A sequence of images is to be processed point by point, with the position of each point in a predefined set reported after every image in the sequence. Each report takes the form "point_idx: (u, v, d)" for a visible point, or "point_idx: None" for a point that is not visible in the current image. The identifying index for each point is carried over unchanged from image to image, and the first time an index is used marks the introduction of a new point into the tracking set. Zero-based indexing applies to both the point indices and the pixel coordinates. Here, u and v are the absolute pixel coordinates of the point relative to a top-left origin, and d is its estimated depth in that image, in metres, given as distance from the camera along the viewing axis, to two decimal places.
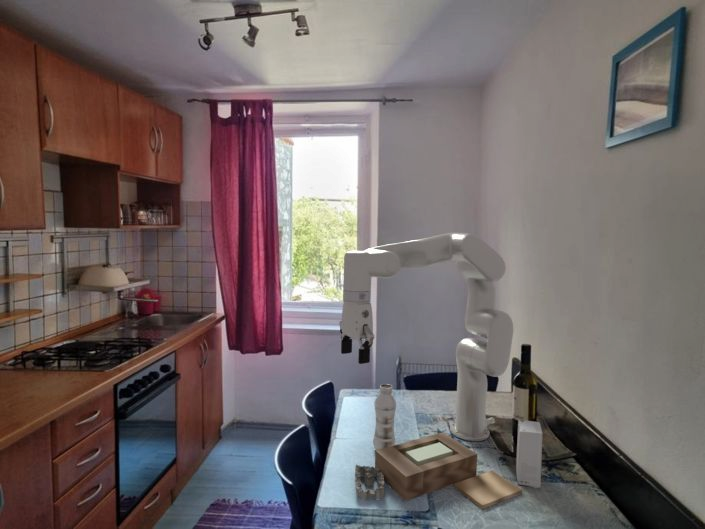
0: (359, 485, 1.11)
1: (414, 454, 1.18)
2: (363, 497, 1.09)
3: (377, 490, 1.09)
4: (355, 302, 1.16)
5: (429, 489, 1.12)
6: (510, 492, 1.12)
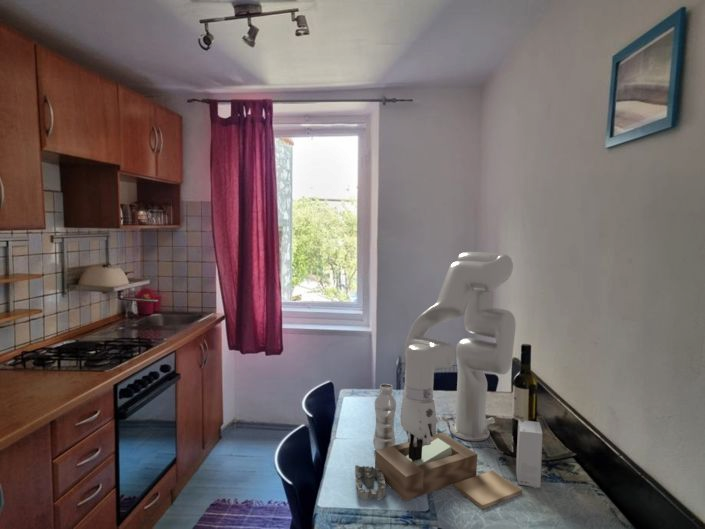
0: (360, 486, 1.11)
1: None
2: (365, 497, 1.09)
3: (379, 490, 1.09)
4: (419, 400, 1.13)
5: (429, 489, 1.12)
6: (510, 492, 1.12)
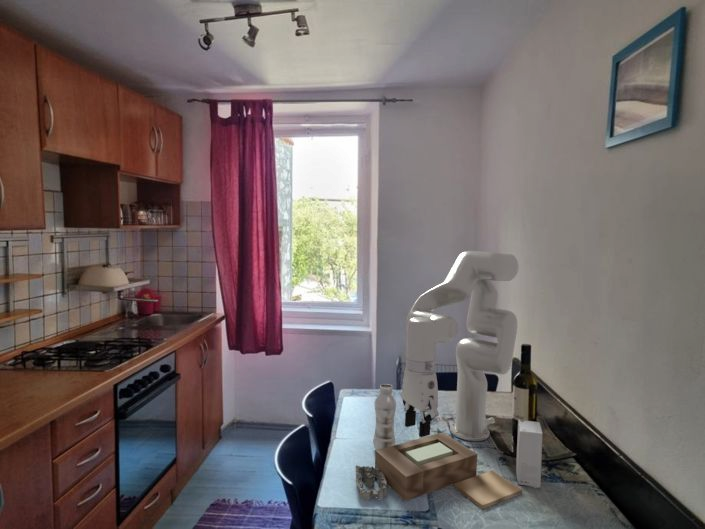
0: (361, 486, 1.11)
1: (414, 454, 1.18)
2: (366, 498, 1.08)
3: (380, 490, 1.09)
4: (420, 373, 1.12)
5: (429, 489, 1.12)
6: (510, 492, 1.12)
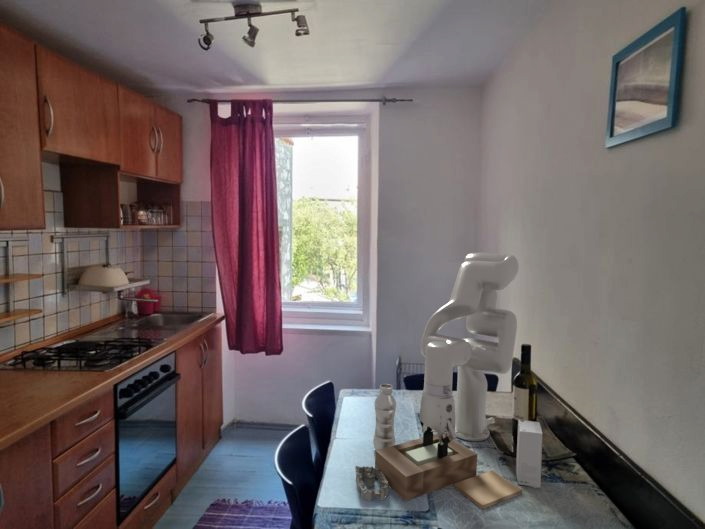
0: (363, 486, 1.11)
1: (414, 454, 1.18)
2: (368, 498, 1.08)
3: (382, 490, 1.09)
4: (439, 396, 1.16)
5: (429, 489, 1.12)
6: (510, 492, 1.12)
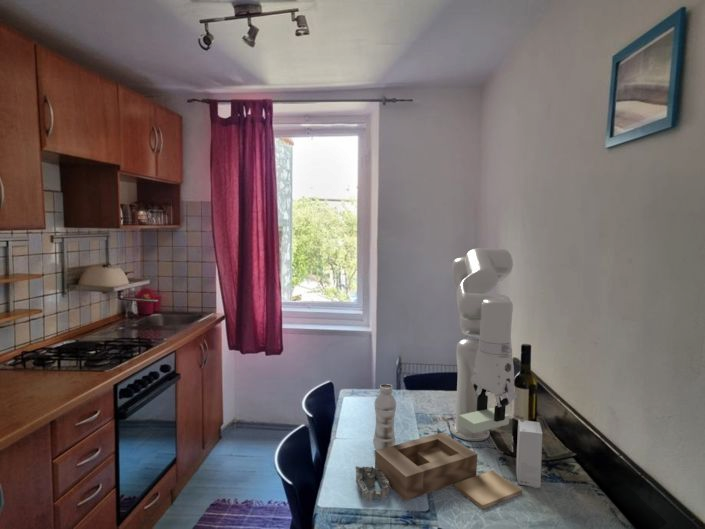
0: (364, 486, 1.10)
1: (469, 417, 1.11)
2: (369, 498, 1.08)
3: (383, 490, 1.09)
4: (497, 355, 1.09)
5: (429, 489, 1.12)
6: (510, 492, 1.12)
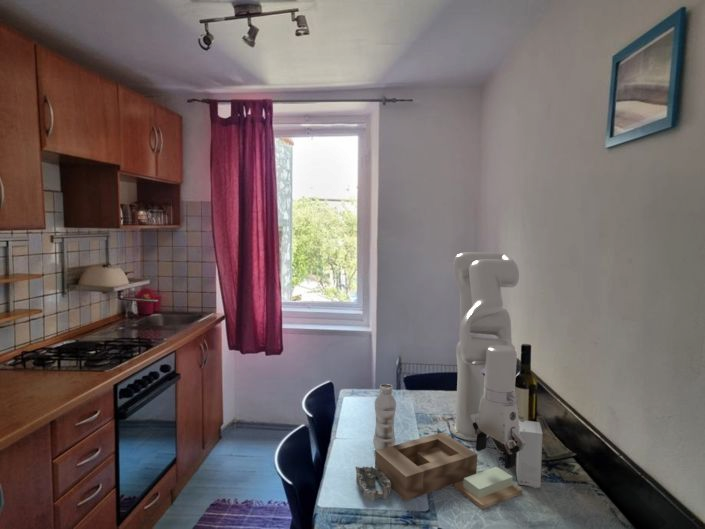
0: (365, 487, 1.10)
1: (473, 481, 1.12)
2: (371, 498, 1.08)
3: (385, 489, 1.09)
4: (502, 403, 1.09)
5: (429, 489, 1.12)
6: (510, 492, 1.12)
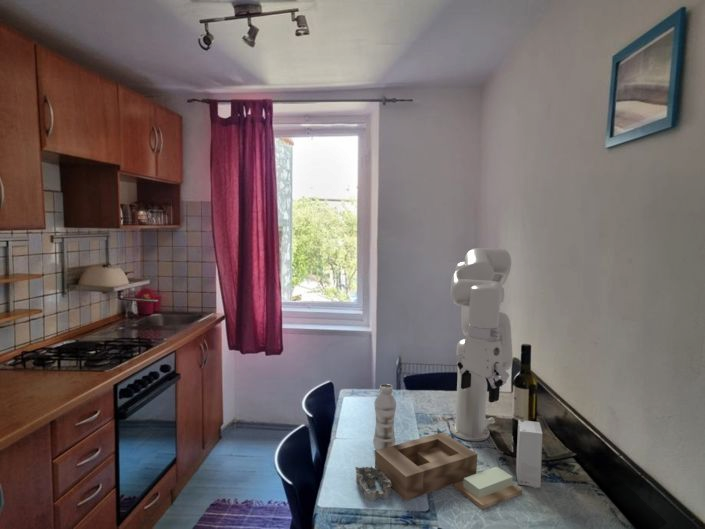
0: (366, 487, 1.10)
1: (473, 481, 1.12)
2: (372, 498, 1.08)
3: (385, 489, 1.09)
4: (486, 339, 1.12)
5: (429, 489, 1.12)
6: (510, 492, 1.12)
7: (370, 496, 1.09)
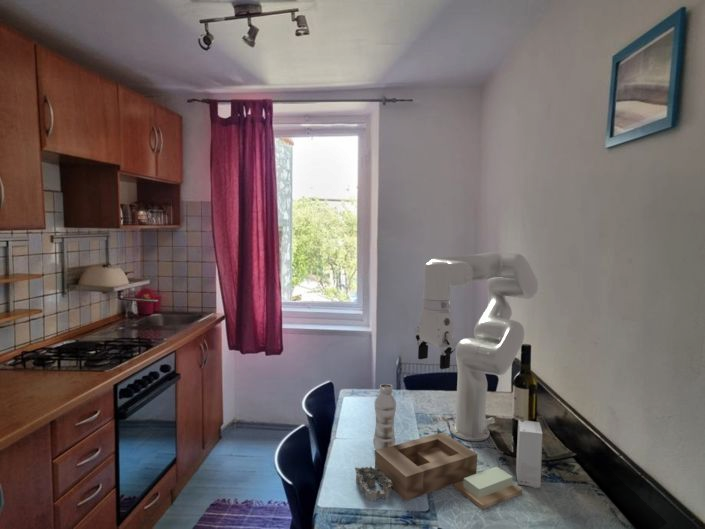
0: (367, 487, 1.10)
1: (473, 481, 1.12)
2: (373, 498, 1.08)
3: (386, 489, 1.09)
4: (437, 310, 1.22)
5: (429, 489, 1.12)
6: (510, 492, 1.12)
7: (371, 496, 1.08)
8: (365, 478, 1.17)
